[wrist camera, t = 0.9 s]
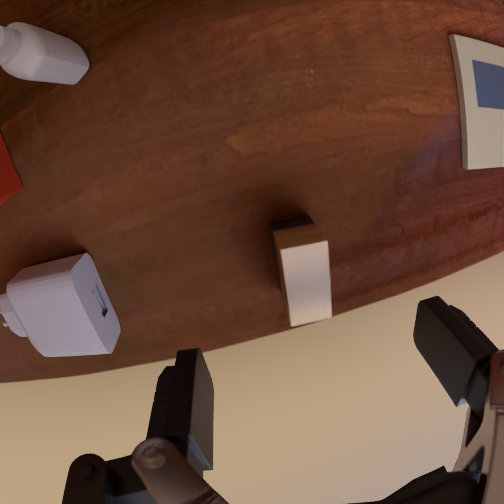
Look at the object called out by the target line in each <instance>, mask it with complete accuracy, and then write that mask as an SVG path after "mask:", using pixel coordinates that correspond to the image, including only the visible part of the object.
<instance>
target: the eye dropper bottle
mask: <svg viewBox="0 0 504 504" xmlns="http://www.w3.org/2000/svg"><path fill="white" fill-rule="evenodd" d="M0 66H1V67H2V68H3V69H4V70H5V71H6V72H7V73H9V74H10V75H12V76H14V77H17V78H20V79H25V80H31V81H41V82H50V83H59V84H68V85H75V84H76V83H78V82H79V80H80V79H81V78H82V77H83V75H84V74H85V73H86V72H87V70H88V69H89V60H88V58H87V56H86V54H85V52H84V51H83V49H82V48H81V47H80V46H79V45H78V44H77V43H75V42H74V41H72V40H70V39H68V38H66V37H63V36H61V35H58V34H55V33H53V32H50V31H47V30H44V29H42V28H39V27H36V26H33V25H30V24H26V23H22V22H15V23H11V24H9V25H8V26H7V27H3V26H0Z"/></svg>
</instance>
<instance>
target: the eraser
mask: <svg viewBox="0 0 504 504" xmlns="http://www.w3.org/2000/svg"><path fill="white" fill-rule="evenodd" d="M270 228H271V235H272V241H273V247H274V253H275V260H276V266H277V272H278V279H279V285H280V291H281V295H282V298H283V302H284V305H285V309H286V312H287V315H288V319H289V322H290V326H297V325H301V324H306V323H311V322H315V321H319V320H324V319H328V318H332V302H331V281H330V264H329V249H328V240H327V239H326V237H325V236H324V235H323V233H322V232H321V231H320V230H319V228H318V227H317V226H316V224H315V223H314V222H313V220H312V219H311V218H310V217H309V216H306V217H300V218H295V219H289V220H284V221H279V222H273V223H270Z"/></svg>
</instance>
